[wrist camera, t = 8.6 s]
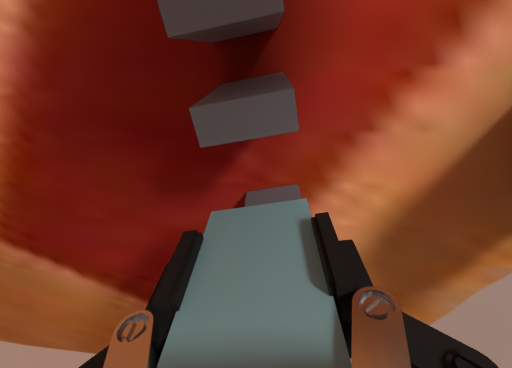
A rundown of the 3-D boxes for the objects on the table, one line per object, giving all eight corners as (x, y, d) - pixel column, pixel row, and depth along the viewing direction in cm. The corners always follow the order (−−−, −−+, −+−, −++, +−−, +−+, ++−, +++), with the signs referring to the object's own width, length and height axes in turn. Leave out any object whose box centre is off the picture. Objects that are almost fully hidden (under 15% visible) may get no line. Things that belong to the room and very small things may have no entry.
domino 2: (221, 84, 22) (188, 108, 13) (283, 71, 21) (294, 87, 12) (227, 108, 23) (200, 147, 14) (286, 97, 22) (299, 130, 13)
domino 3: (246, 191, 26) (235, 266, 17) (298, 184, 25) (314, 257, 16) (250, 209, 27) (241, 288, 18) (300, 202, 26) (317, 280, 17)
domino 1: (204, 12, 20) (151, -20, 11) (272, -4, 19) (277, -52, 10) (211, 42, 20) (167, 37, 11) (277, 28, 20) (284, 11, 11)
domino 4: (211, 211, 14) (114, 486, 5) (306, 198, 14) (383, 482, 5) (220, 241, 15) (150, 523, 6) (310, 230, 14) (381, 523, 5)
